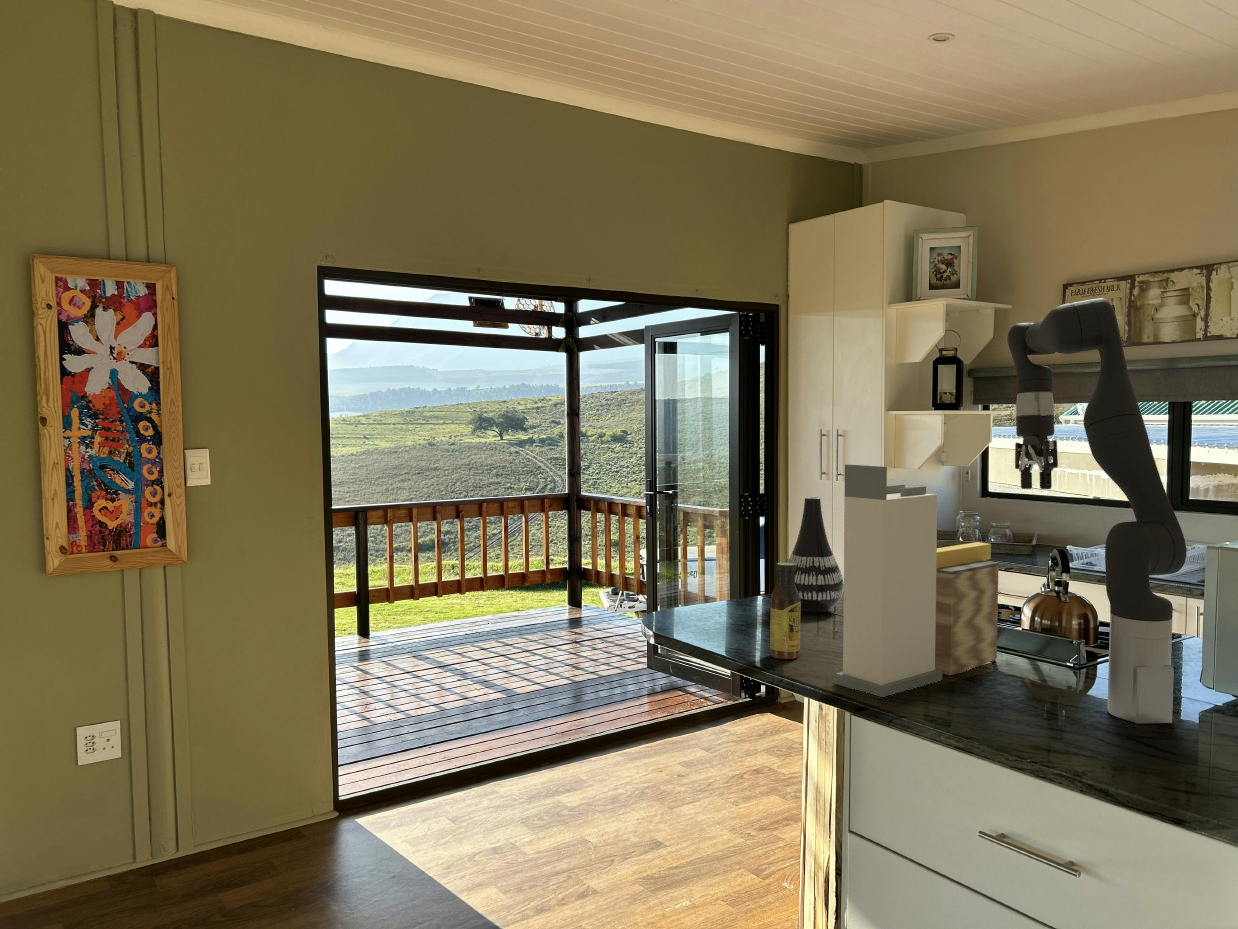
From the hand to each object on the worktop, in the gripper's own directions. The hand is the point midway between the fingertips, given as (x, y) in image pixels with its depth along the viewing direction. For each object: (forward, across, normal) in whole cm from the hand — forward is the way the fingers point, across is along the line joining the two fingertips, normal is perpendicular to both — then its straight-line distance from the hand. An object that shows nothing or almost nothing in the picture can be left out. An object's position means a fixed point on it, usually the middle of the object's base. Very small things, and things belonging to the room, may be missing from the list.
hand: (1035, 489), depth 200 cm
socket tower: (+37, +20, -39) cm, 58 cm away
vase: (+32, -40, -39) cm, 65 cm away
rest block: (+36, +9, -22) cm, 43 cm away
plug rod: (+15, +10, -23) cm, 30 cm away
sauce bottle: (+36, +1, -55) cm, 66 cm away
